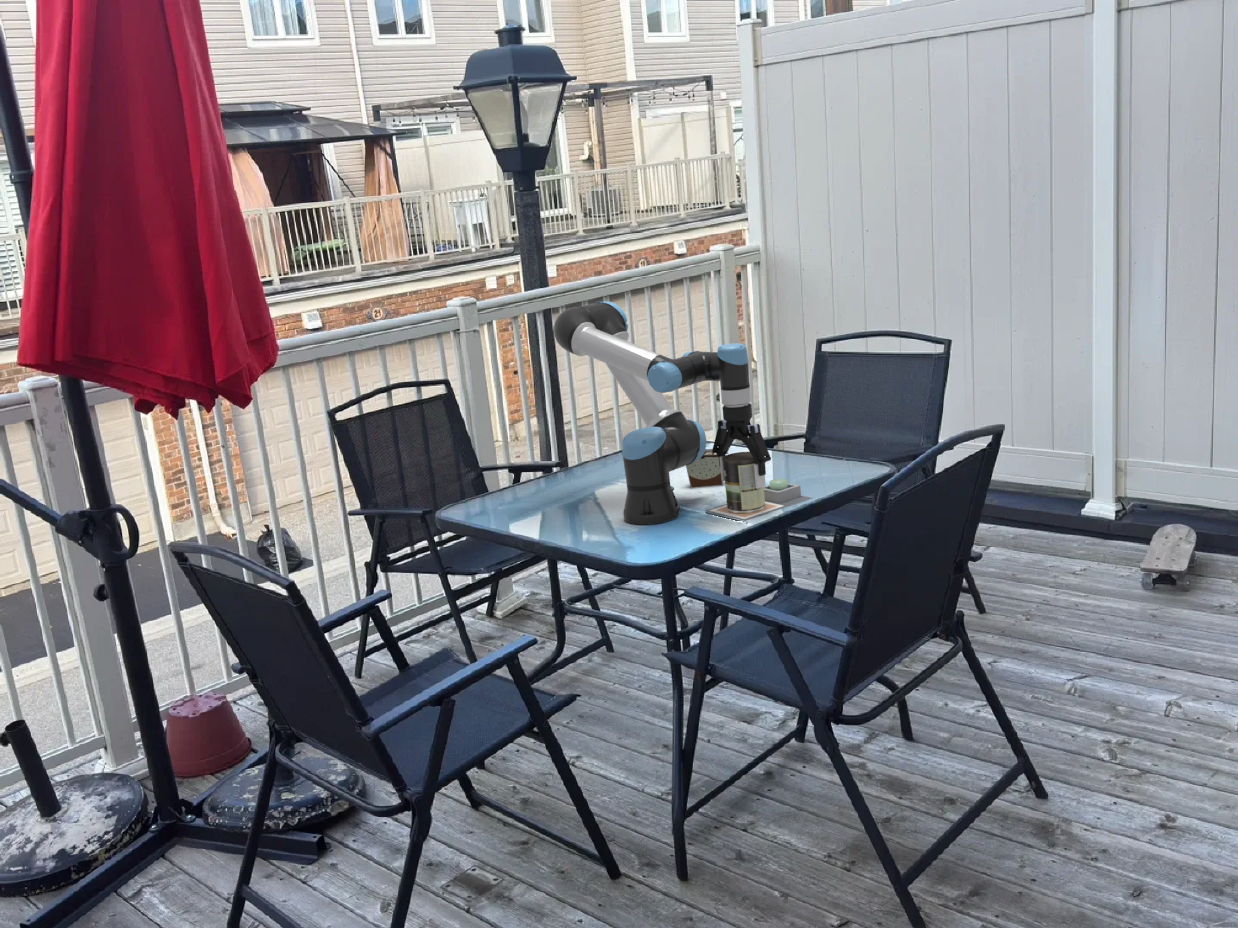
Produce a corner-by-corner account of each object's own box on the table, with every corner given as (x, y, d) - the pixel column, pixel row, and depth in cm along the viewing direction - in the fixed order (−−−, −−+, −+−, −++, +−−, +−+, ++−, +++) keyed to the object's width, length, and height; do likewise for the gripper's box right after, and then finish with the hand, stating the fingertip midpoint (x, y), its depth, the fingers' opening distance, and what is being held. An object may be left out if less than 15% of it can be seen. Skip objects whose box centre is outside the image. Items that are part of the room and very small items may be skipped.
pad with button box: (745, 523, 276) (744, 509, 275) (705, 513, 289) (704, 499, 288) (813, 500, 289) (812, 487, 288) (771, 492, 302) (770, 479, 301)
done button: (779, 496, 289) (778, 484, 289) (766, 494, 293) (765, 482, 292) (792, 492, 292) (791, 480, 291) (779, 490, 296) (778, 477, 295)
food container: (728, 479, 321) (724, 446, 319) (728, 485, 315) (724, 451, 313) (686, 483, 323) (683, 450, 320) (685, 488, 317) (682, 455, 314)
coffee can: (722, 514, 284) (717, 461, 280) (732, 502, 293) (727, 452, 290) (761, 513, 280) (756, 460, 277) (769, 502, 289) (765, 450, 286)
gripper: (780, 405, 272) (786, 487, 277) (716, 397, 292) (723, 473, 297) (758, 411, 268) (765, 494, 273) (695, 402, 288) (702, 479, 293)
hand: (743, 483), depth 285 cm, fingers open, 13 cm apart
